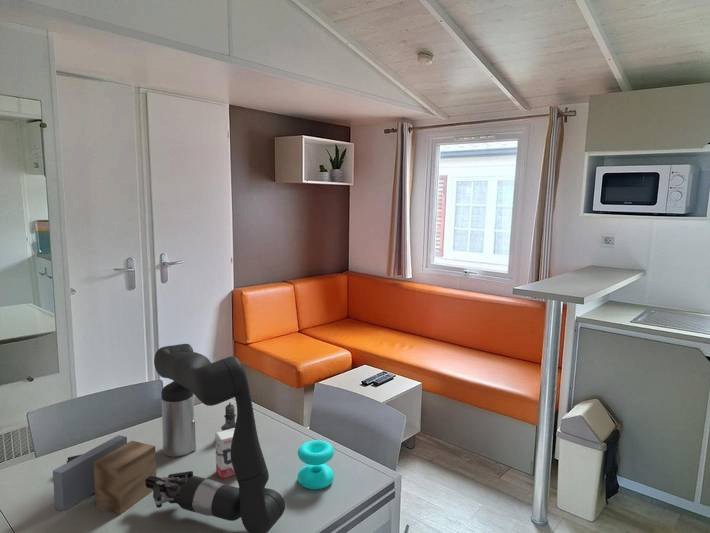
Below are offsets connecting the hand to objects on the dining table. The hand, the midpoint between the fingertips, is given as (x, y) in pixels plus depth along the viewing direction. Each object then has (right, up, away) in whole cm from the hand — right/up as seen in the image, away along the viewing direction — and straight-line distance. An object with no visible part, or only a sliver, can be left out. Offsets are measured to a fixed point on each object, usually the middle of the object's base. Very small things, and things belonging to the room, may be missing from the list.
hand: (147, 481), depth 119 cm
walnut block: (-7, -6, +3) cm, 9 cm away
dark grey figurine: (+11, -2, +36) cm, 38 cm away
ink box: (+18, -5, +16) cm, 24 cm away
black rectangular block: (-27, -5, +15) cm, 31 cm away
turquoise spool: (+42, -6, +12) cm, 43 cm away
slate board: (-17, -5, +7) cm, 19 cm away
